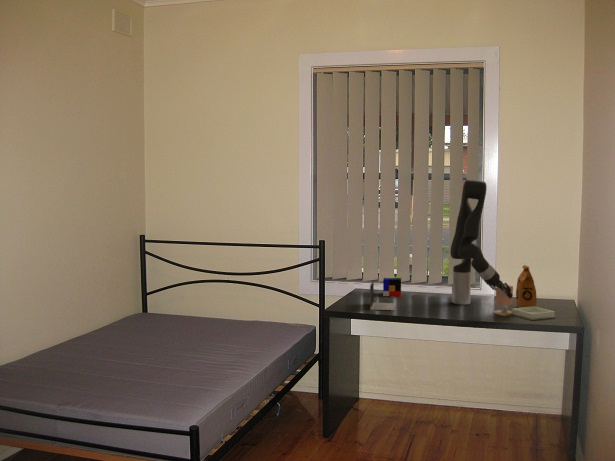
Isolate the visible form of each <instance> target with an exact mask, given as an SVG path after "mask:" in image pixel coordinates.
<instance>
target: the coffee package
mask: <svg viewBox="0 0 615 461" xmlns="http://www.w3.org/2000/svg"><path fill="white" fill-rule="evenodd" d="M522 269H523V270H522V271H521V273H520V274H519V276H518V277H517V282H516V288H515V289H516V290H515V298H516V299H515V301H516V306H517V308H522V307H532V306H535V307H537V289H536V286H535V280H534V277H533V276H532V273H531V271H530V266H528V265H526V264H524V265H522Z"/></svg>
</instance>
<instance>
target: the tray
mask: <svg viewBox="0 0 615 461" xmlns="http://www.w3.org/2000/svg"><path fill="white" fill-rule="evenodd" d="M511 311H512V313H513V315H512V316H516V317H519V318H522V319H526V320H529V321H536V320H538V321H539V320H546V319H554V318H555V316H556V314H555V313H556V312H555V310H549V309H546V308H542V307H538V306H536V307H535V306H532V307H522V308H519V307H516V308H511Z"/></svg>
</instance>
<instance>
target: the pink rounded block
mask: <svg viewBox="0 0 615 461" xmlns="http://www.w3.org/2000/svg"><path fill="white" fill-rule="evenodd" d="M507 285H508V286H509V287H510V289H511V291H510V292H511V294H512V295H513V296H514V294H513V293H514V292H513V291H514V286H513V285H509V284H507ZM502 288H503V287H502ZM502 288H501V289H502ZM504 291H505V290H504ZM513 296H512V298H509V297H508V296H507V295H506V294H505V293H504V292H503V291H500V290H499V289H498V288H497V290H496V291H495V303H496V304H498V305H500V306H501V305H508V306H509V305H513V300H514V299H513V298H514V297H513Z"/></svg>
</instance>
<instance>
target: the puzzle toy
mask: <svg viewBox="0 0 615 461" xmlns="http://www.w3.org/2000/svg"><path fill="white" fill-rule="evenodd" d="M382 282H383V283H382V284H383V285H382V288H383V290H382V296H394V297H393V298H401V297H402V277H401V276H384V277H383V281H382Z"/></svg>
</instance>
